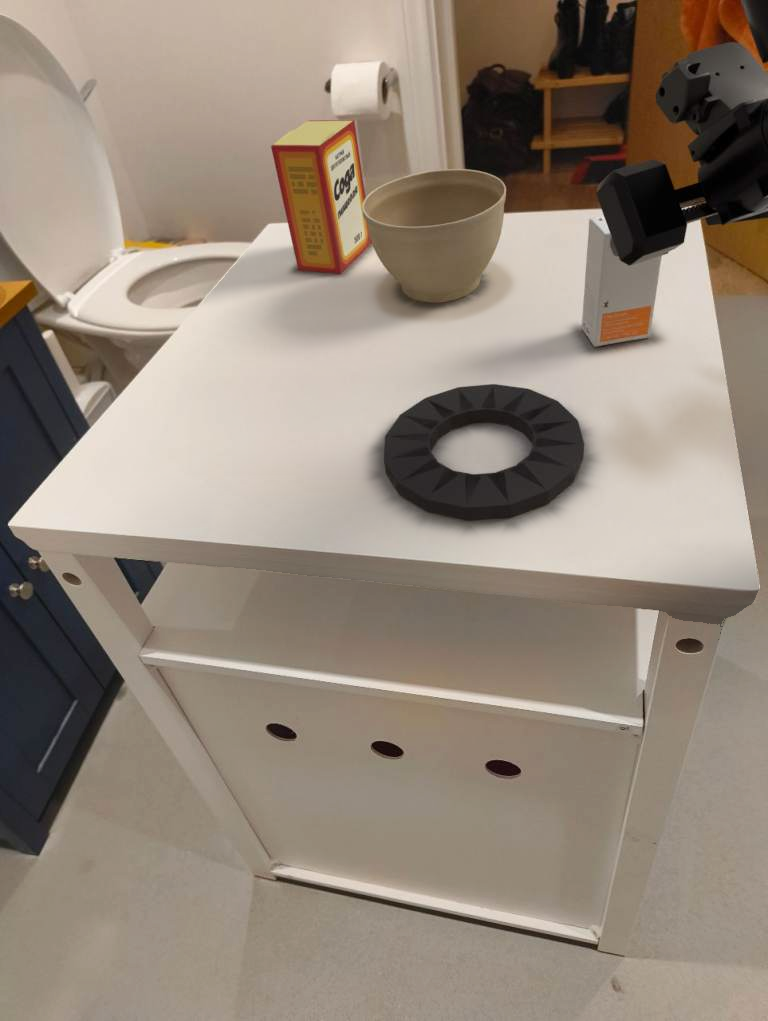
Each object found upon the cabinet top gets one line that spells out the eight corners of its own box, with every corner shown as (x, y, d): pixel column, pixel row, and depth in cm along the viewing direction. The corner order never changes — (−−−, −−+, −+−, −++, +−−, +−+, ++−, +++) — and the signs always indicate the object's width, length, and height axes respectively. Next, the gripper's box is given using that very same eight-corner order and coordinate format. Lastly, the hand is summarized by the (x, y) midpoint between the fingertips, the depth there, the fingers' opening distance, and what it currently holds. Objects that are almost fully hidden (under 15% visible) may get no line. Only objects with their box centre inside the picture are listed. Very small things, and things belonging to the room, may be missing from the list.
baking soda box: (330, 239, 104) (308, 117, 94) (371, 242, 102) (353, 116, 91) (298, 270, 99) (270, 142, 88) (341, 273, 96) (317, 143, 85)
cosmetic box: (594, 349, 75) (602, 234, 67) (580, 329, 78) (587, 217, 70) (652, 338, 75) (668, 222, 67) (636, 318, 78) (649, 205, 70)
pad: (566, 390, 71) (566, 377, 70) (597, 512, 58) (598, 498, 57) (389, 405, 73) (387, 393, 72) (382, 527, 60) (380, 513, 59)
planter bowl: (361, 275, 95) (347, 188, 88) (479, 246, 97) (475, 159, 89) (395, 331, 83) (382, 237, 76) (529, 297, 85) (529, 202, 78)
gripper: (876, -24, 48) (721, 115, 63) (629, 39, 44) (528, 170, 59) (933, 140, 48) (765, 238, 63) (693, 217, 44) (576, 301, 59)
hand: (660, 234), depth 61 cm, fingers open, 9 cm apart
